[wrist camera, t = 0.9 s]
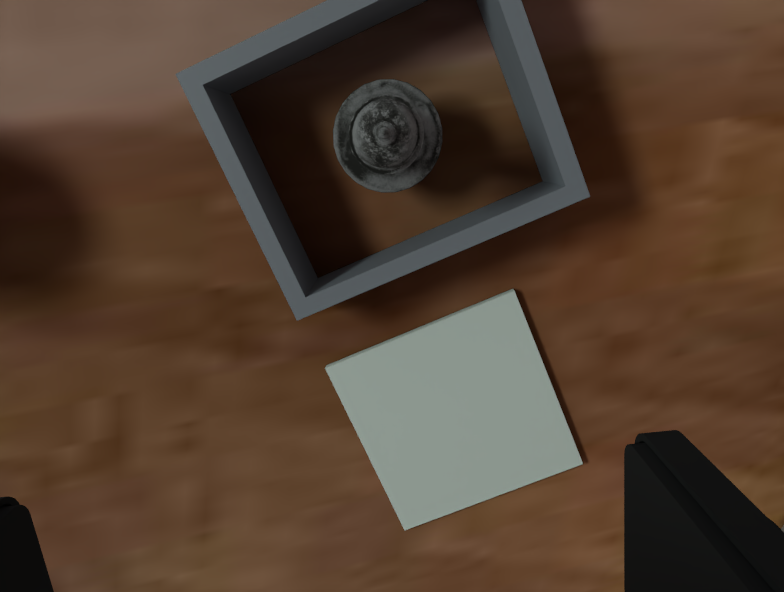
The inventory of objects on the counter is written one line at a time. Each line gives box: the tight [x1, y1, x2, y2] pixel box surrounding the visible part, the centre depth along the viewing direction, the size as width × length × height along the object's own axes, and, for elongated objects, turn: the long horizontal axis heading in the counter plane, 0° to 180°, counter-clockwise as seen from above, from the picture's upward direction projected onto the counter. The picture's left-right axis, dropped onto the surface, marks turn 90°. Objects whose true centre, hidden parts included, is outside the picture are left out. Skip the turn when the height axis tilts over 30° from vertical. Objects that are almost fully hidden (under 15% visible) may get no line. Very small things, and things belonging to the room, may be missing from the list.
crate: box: [176, 0, 590, 320], centre depth 32 cm, size 17×14×5 cm
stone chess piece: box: [333, 79, 442, 192], centre depth 29 cm, size 6×6×12 cm
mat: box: [325, 289, 583, 530], centre depth 39 cm, size 13×13×1 cm
